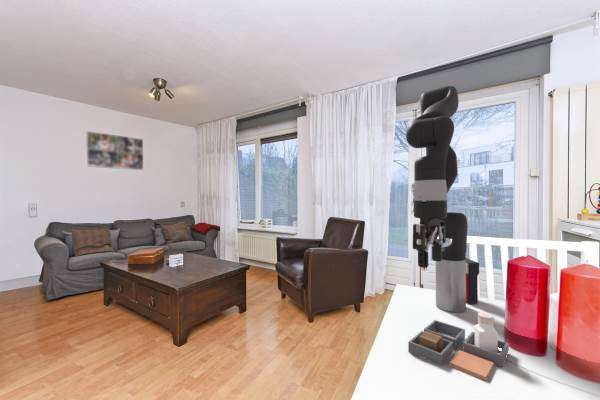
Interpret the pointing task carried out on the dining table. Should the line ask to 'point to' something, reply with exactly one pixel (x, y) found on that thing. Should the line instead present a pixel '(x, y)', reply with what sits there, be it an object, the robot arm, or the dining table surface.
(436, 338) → the walnut cube
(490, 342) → the salt shaker
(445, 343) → the bin with cube
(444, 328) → the empty bin
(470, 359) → the terracotta pad
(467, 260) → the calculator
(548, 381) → the dining table surface
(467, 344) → the shaker bin
